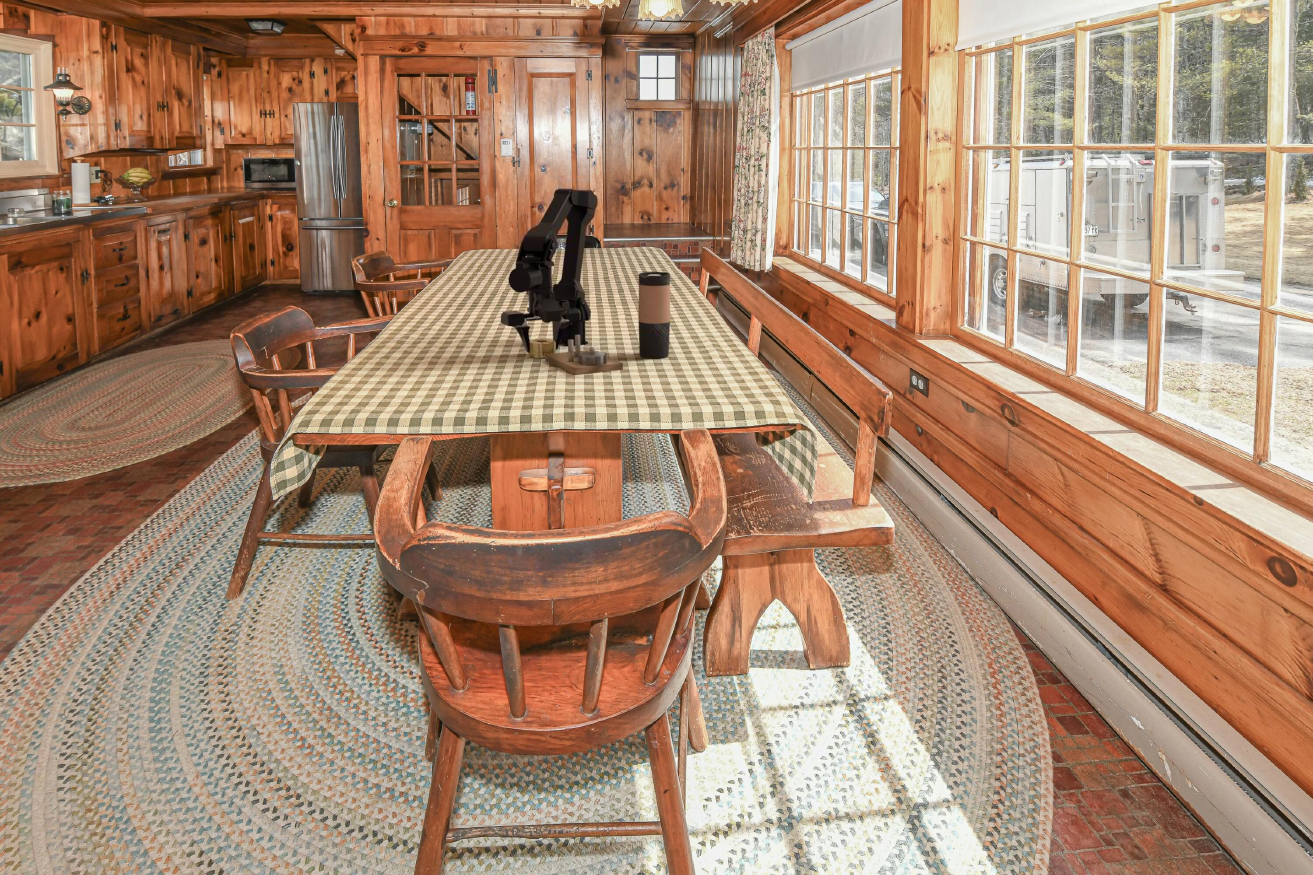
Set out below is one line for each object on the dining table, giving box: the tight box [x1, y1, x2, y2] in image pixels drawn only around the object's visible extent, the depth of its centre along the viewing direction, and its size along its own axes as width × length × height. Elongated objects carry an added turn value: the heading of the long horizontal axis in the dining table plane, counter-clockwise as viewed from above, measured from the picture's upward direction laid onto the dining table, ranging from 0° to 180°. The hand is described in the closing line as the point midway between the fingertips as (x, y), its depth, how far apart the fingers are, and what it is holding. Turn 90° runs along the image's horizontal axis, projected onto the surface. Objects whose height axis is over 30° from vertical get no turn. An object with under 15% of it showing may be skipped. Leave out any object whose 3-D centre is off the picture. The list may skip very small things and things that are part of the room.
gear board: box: [545, 335, 624, 376], centre depth 223 cm, size 12×17×6 cm
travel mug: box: [637, 271, 671, 360], centre depth 231 cm, size 8×8×20 cm
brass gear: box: [528, 338, 557, 359], centre depth 233 cm, size 7×7×4 cm
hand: (542, 351), depth 233 cm, fingers closed on brass gear, 7 cm apart
